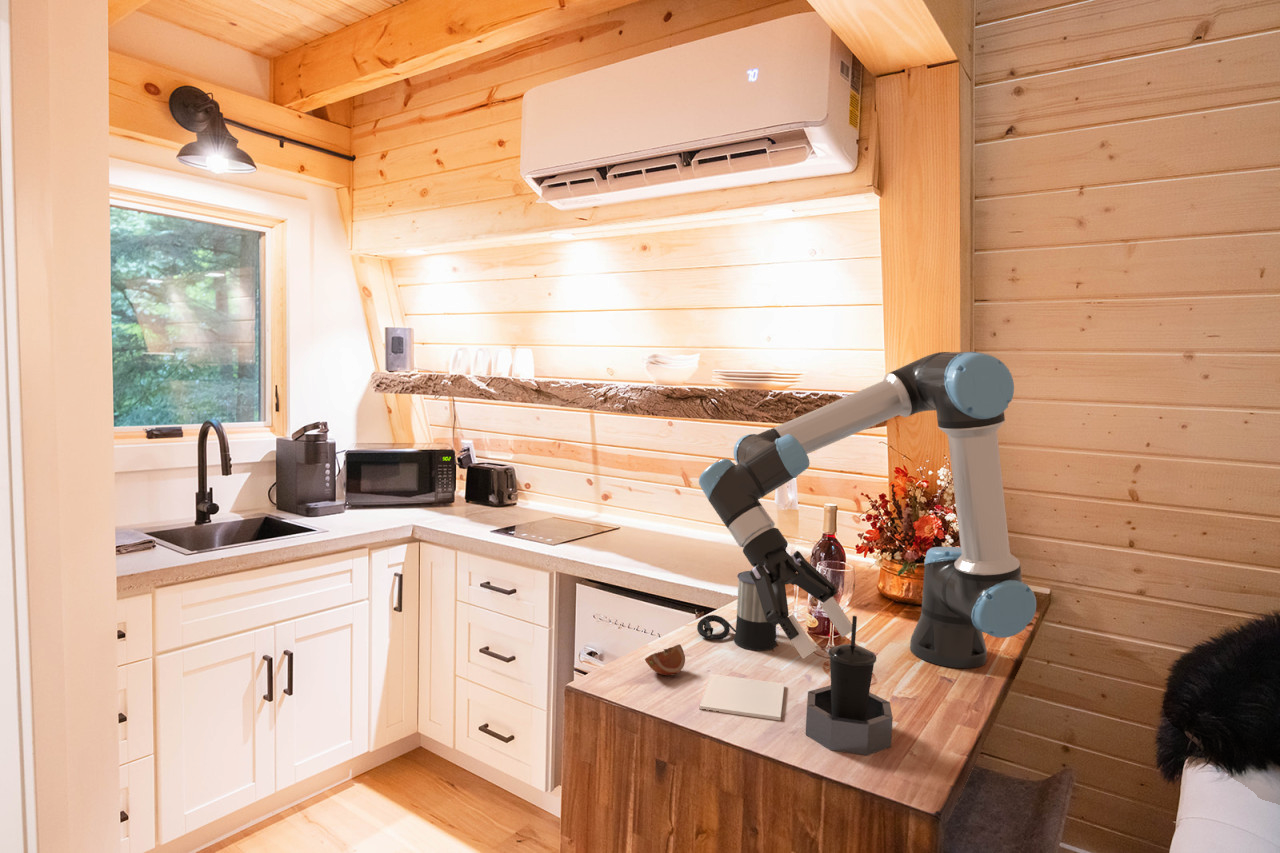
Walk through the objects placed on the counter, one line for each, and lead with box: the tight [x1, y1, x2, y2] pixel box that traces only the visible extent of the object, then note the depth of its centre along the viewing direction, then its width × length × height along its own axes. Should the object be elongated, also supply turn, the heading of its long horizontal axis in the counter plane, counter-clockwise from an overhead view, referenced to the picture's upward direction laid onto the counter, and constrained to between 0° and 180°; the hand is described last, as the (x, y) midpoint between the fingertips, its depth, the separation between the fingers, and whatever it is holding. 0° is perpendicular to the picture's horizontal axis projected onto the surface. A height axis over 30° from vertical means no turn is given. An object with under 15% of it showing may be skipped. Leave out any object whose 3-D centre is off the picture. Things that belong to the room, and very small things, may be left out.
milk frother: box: [696, 570, 778, 652], centre depth 168 cm, size 14×16×15 cm
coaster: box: [699, 673, 785, 721], centre depth 141 cm, size 14×14×1 cm
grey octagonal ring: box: [805, 684, 894, 756], centre depth 129 cm, size 13×13×5 cm
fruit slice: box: [644, 644, 686, 676], centre depth 150 cm, size 8×7×5 cm
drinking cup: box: [828, 615, 877, 721], centre depth 128 cm, size 8×8×20 cm
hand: (830, 643), depth 129 cm, fingers open, 13 cm apart
